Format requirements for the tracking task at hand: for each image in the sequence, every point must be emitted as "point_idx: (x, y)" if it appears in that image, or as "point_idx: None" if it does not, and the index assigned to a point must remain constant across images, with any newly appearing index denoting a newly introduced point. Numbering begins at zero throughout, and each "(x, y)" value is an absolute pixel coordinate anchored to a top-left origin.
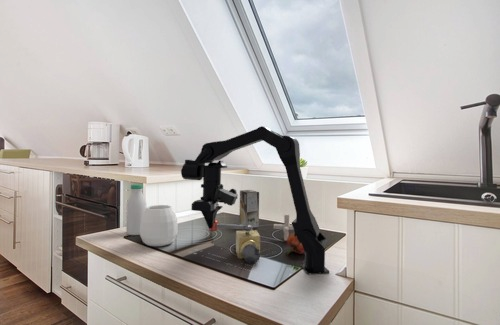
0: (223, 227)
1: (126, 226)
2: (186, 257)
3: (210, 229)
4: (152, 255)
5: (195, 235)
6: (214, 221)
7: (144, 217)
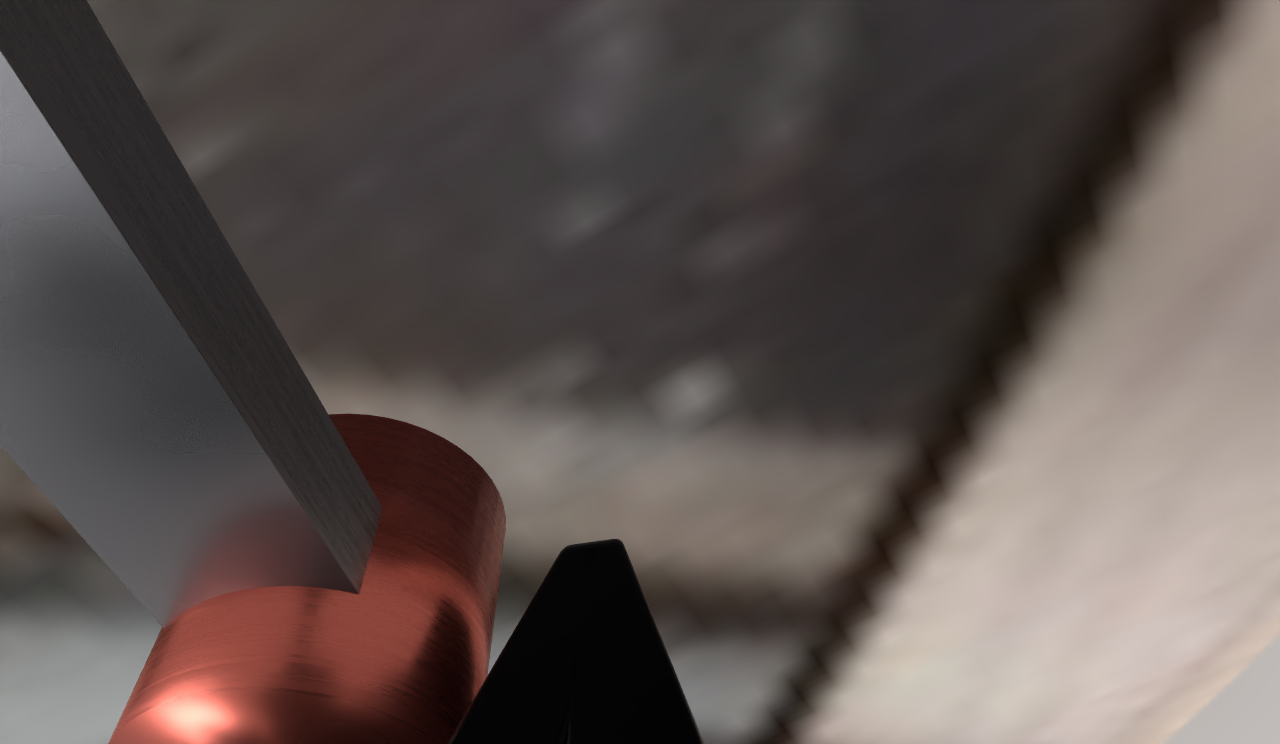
0: (236, 281)
1: None
2: (916, 397)
3: (499, 562)
4: (971, 698)
5: (59, 736)
6: (363, 735)
7: None
